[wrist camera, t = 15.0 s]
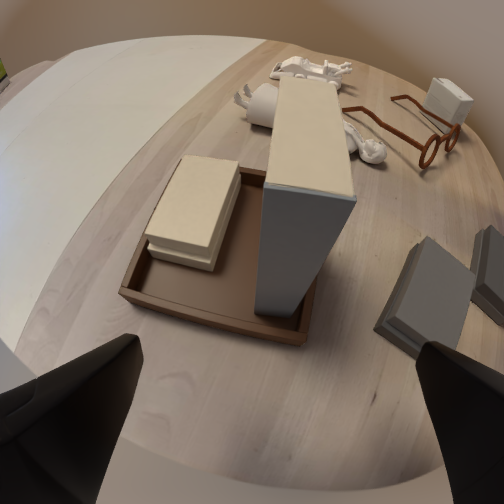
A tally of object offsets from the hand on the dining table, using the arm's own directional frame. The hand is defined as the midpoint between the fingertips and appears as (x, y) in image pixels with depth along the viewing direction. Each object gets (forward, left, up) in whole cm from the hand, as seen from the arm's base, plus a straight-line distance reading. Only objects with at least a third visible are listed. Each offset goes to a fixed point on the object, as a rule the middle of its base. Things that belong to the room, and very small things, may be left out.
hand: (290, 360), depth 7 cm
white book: (+7, +1, -11) cm, 13 cm away
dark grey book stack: (+12, -22, -11) cm, 27 cm away
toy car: (+40, +1, -11) cm, 42 cm away
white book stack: (+10, +8, -11) cm, 17 cm away
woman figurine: (+25, 0, -11) cm, 27 cm away
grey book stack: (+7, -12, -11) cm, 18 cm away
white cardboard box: (+40, -22, -11) cm, 47 cm away
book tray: (+9, +5, -11) cm, 15 cm away
